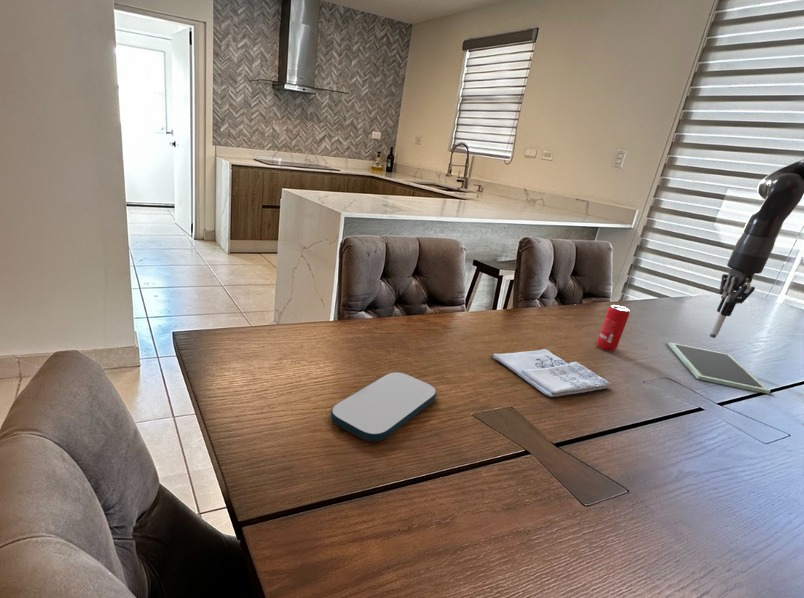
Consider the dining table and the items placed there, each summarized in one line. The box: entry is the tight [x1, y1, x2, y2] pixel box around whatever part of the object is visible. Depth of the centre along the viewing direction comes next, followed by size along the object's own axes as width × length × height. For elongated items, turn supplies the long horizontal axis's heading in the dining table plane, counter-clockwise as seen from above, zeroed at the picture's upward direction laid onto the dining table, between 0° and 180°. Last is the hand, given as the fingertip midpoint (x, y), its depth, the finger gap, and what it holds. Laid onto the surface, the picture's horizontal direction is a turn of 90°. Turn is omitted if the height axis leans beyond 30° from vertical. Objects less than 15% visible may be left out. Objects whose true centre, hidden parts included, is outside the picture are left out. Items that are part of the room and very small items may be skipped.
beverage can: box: [596, 304, 630, 352], centre depth 130 cm, size 5×5×12 cm
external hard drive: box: [330, 371, 437, 443], centre depth 90 cm, size 24×12×2 cm, turn 143°
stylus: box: [709, 296, 728, 339], centre depth 130 cm, size 2×2×12 cm
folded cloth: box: [492, 348, 612, 398], centre depth 112 cm, size 19×20×2 cm
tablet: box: [667, 341, 771, 395], centre depth 128 cm, size 16×23×1 cm
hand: (723, 313), depth 129 cm, fingers closed on stylus, 2 cm apart
